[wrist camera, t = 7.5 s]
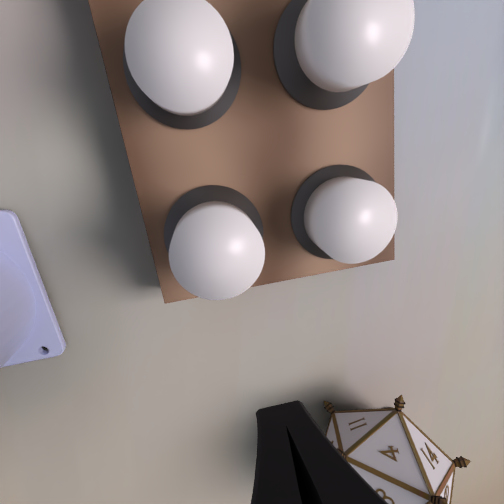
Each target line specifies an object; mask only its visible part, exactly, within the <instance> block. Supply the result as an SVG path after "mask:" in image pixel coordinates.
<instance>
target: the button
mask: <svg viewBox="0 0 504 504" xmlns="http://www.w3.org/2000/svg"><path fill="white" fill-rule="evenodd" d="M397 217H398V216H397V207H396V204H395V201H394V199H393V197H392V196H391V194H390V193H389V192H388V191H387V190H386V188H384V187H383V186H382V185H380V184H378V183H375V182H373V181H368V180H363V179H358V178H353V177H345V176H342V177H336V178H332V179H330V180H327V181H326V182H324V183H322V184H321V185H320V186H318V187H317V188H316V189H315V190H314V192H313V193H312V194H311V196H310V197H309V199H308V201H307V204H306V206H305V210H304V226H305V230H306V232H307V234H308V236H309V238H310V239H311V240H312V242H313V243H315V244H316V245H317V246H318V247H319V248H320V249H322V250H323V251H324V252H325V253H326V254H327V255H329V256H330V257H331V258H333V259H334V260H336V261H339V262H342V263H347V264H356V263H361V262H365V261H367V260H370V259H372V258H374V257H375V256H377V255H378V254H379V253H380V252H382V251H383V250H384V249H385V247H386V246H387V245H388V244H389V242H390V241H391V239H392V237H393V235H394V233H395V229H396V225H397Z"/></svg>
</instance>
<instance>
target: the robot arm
mask: <svg viewBox="0 0 504 504" xmlns="http://www.w3.org/2000/svg"><path fill="white" fill-rule="evenodd" d="M42 346H44V347H47V348H48V349H49V351H45V350H43V349H42ZM65 347H66V343H65V341H64V338H63V335H62V333H61V330H60V327H59V325H58V322H57V319H56V317H55V314H54V311H53V309H52V306H51V303H50V301H49V298H48V295H47V293H46V290H45V287H44V285H43V282H42V280H41V277H40V274H39V272H38V269H37V266H36V264H35V261H34V258H33V256H32V253H31V250H30V248H29V245H28V242H27V240H26V237H25V234H24V232H23V229H22V226H21V224H20V221H19V219H18V217H17V215H16V214H15V213H14V212H12V211H10V210H0V368H1V367H5V366H10V365H15V364H20V363H25V362H30V361H35V360H40V359H45V358H50V357H55V356H58V355H60V354H62V353H63V351H64V350H65ZM256 417H257V427H258V443H257V459H256V470H255V480H254V487H253V494H252V500H251V504H388V503H387V502H386V501H385V500H384V499H383V498H382V497H381V496H380V495H379V494H378V493H377V492H376V491H375V490H374V489H373V488H372V487H371V486H370V485H369V484H368V483H367V482H366V481H365V480H364V479H363V478H362V477H361V476H360V475H359V473H358V472H357V471H356V470H355V469H354V468H353V467H352V466H351V465H350V464H349V463H348V461H347V460H346V459H345V458H344V457H343V456H342V455H341V453H340V452H339V451H338V450H337V449H336V448H335V446H334V445H333V444H332V443H331V442H330V440H329V439H328V438H327V437H326V436H325V434H324V433H323V432H322V430H321V429H320V428H319V427H318V425H317V424H316V423H315V421H314V420H313V419H312V417H311V416H310V414H309V413H308V411H307V410H306V408H305V407H304V405H303V404H302V402H300V401H298V400H297V401H293V402H289V403H284V404H280V405H276V406H271V407H267V408H262V409H259V410H258V411H257V412H256Z"/></svg>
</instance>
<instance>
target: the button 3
mask: <svg viewBox="0 0 504 504" xmlns="http://www.w3.org/2000/svg"><path fill="white" fill-rule="evenodd" d="M414 19H415V13H414V3H413V0H308V1H307V2H306V3H305V5H304V7H303V8H302V10H301V13H300V15H299V17H298V20H297V24H296V29H295V51H296V55H297V59H298V62H299V64H300V67H301V68H302V70H303V72H304V73H305V75H306V76H307V77H308V78H309V79H310V81H311V82H313V83H314V84H315V85H317V86H318V87H320V88H322V89H324V90H327V91H331V92H345V91H350V90H352V89H355V88H358V87H360V86H363V85H365V84H368V83H370V82H373V81H376V80H378V79H380V78H382V77H384V76H385V75H386V74H388V73H389V72H390V71H391V70H392V69H394V68H395V66H396V65H397V64H398V63H399V62H400V60H401V59H402V57H403V56H404V54H405V52H406V50H407V48H408V46H409V43H410V41H411V37H412V34H413V28H414Z"/></svg>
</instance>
